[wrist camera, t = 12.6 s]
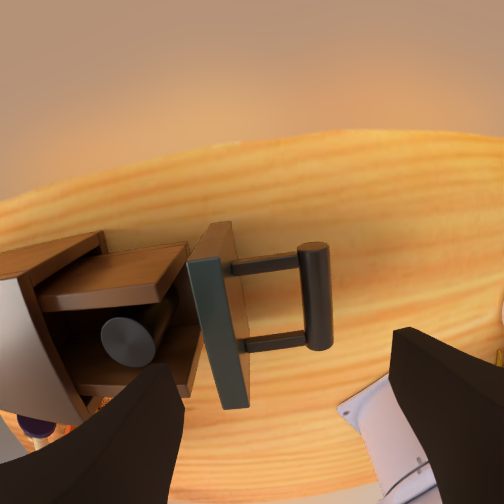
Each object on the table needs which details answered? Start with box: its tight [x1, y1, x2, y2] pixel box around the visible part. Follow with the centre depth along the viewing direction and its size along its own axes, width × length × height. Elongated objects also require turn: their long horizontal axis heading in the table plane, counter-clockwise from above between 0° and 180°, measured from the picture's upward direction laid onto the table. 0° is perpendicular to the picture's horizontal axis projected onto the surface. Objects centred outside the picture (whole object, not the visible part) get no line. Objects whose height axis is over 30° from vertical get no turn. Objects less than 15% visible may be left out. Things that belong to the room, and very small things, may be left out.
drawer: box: [33, 221, 334, 410], centre depth 15 cm, size 17×7×7 cm, turn 98°
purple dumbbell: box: [17, 414, 56, 451], centre depth 22 cm, size 5×5×17 cm
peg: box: [101, 284, 179, 368], centre depth 14 cm, size 3×3×5 cm
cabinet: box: [0, 230, 108, 426], centre depth 15 cm, size 14×8×9 cm, turn 98°
